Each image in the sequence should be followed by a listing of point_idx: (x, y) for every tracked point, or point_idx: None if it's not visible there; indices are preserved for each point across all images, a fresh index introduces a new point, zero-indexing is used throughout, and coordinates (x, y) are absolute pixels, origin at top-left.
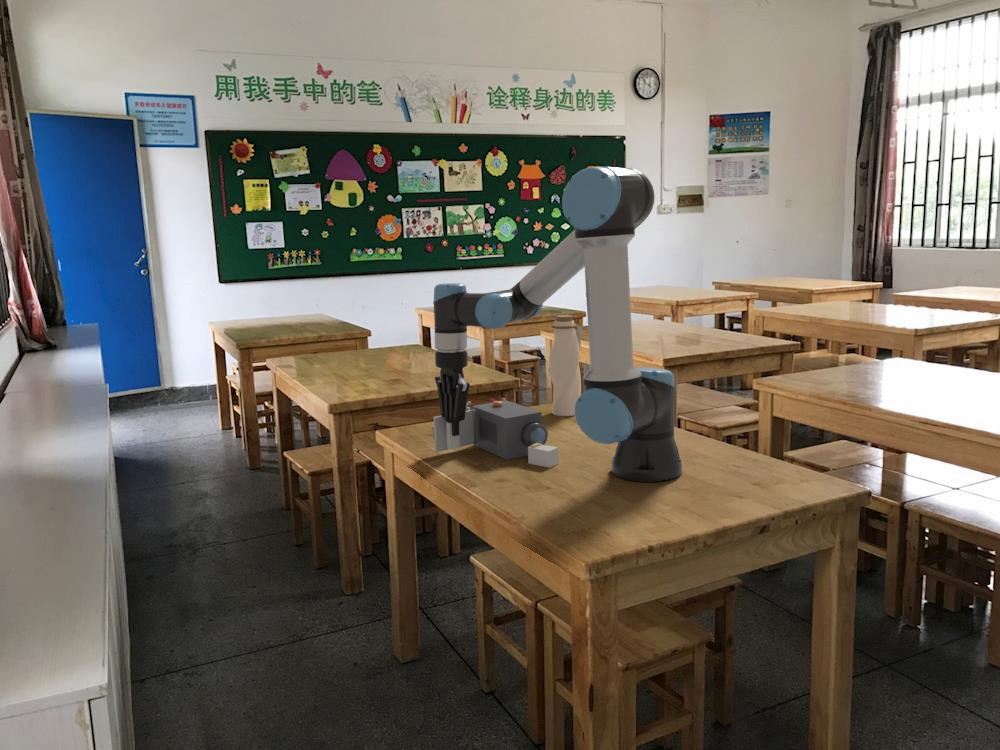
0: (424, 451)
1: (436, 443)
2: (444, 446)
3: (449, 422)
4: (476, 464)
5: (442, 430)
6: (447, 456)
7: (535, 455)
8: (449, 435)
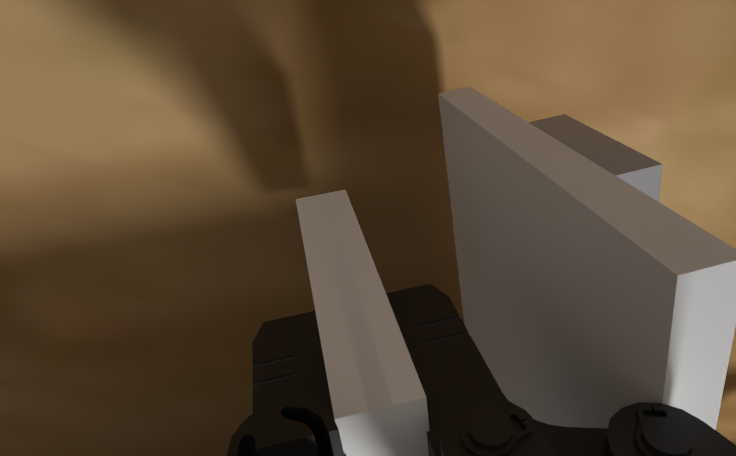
0: (626, 29)
1: (466, 117)
2: (460, 190)
3: (241, 435)
4: (31, 307)
5: (532, 259)
6: (370, 165)
7: None
8: (311, 282)
